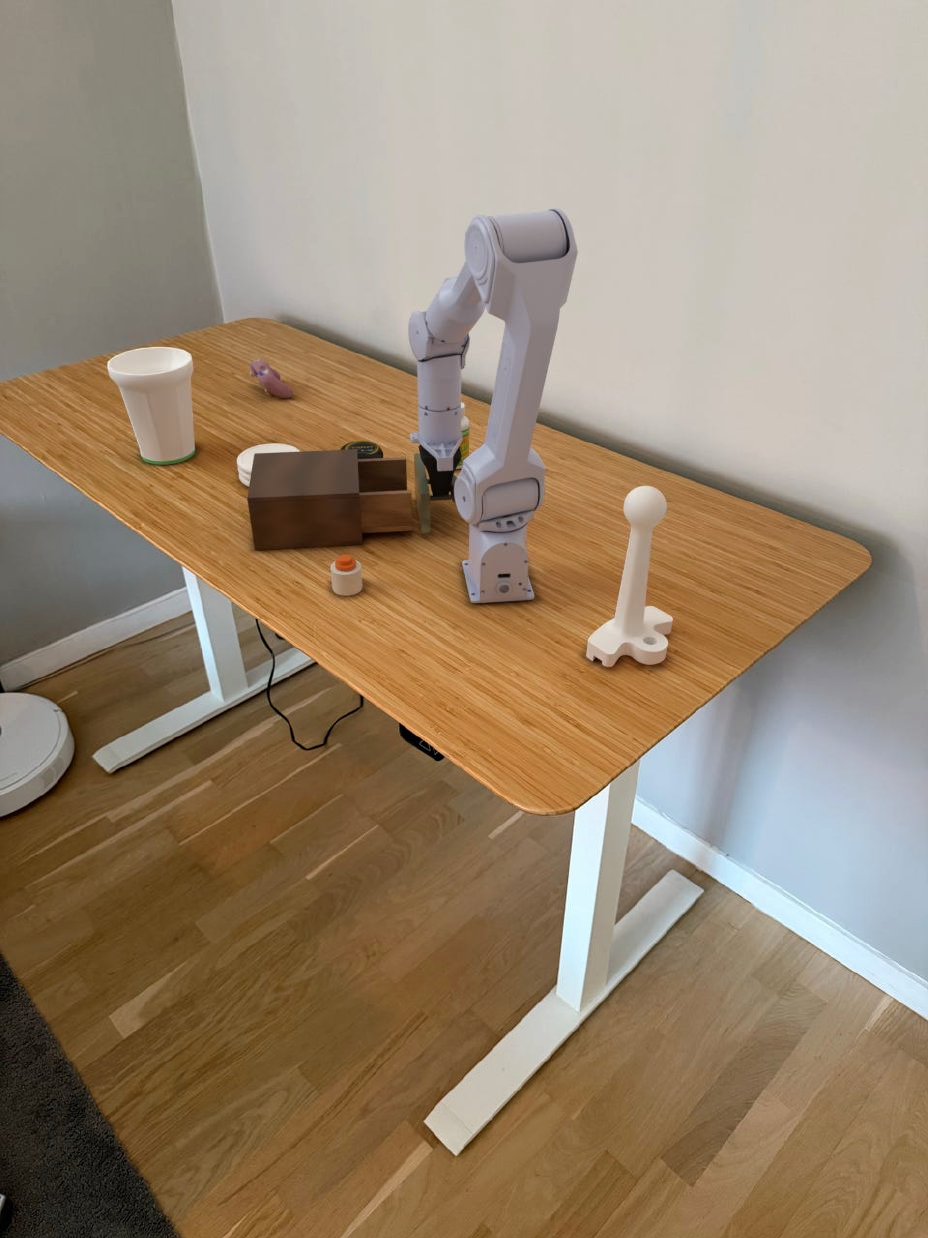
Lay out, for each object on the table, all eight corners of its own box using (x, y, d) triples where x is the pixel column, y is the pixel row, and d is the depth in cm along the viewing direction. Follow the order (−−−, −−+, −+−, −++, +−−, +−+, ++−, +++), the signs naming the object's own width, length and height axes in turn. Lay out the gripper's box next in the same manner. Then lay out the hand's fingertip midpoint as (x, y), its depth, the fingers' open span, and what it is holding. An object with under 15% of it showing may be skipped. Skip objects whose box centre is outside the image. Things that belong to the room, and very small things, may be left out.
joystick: (642, 616, 108) (666, 465, 96) (692, 646, 103) (723, 491, 91) (578, 651, 102) (594, 495, 90) (627, 684, 97) (651, 524, 86)
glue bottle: (363, 595, 111) (361, 565, 108) (332, 596, 111) (329, 566, 108) (362, 578, 114) (360, 549, 111) (332, 580, 114) (329, 550, 111)
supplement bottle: (465, 472, 139) (465, 413, 133) (431, 468, 140) (430, 410, 134) (471, 457, 143) (472, 399, 137) (439, 454, 144) (438, 396, 138)
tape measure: (338, 480, 136) (336, 458, 134) (342, 461, 142) (340, 439, 139) (383, 480, 136) (382, 458, 134) (385, 460, 142) (384, 439, 140)
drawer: (454, 490, 132) (454, 451, 128) (464, 531, 122) (464, 491, 119) (331, 496, 130) (328, 457, 127) (331, 538, 120) (327, 497, 117)
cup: (111, 464, 140) (88, 369, 131) (156, 433, 149) (138, 342, 141) (181, 475, 137) (163, 379, 128) (222, 443, 147) (207, 351, 138)
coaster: (227, 474, 137) (224, 453, 135) (283, 456, 143) (281, 436, 141) (260, 498, 131) (257, 476, 129) (317, 479, 136) (315, 458, 134)
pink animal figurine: (261, 391, 169) (240, 361, 164) (281, 377, 169) (261, 347, 165) (275, 409, 162) (254, 379, 157) (296, 395, 162) (275, 364, 157)
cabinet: (360, 498, 132) (356, 448, 127) (362, 544, 121) (359, 492, 116) (261, 502, 130) (254, 453, 125) (254, 550, 119) (247, 497, 115)
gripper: (405, 384, 123) (408, 473, 131) (413, 426, 111) (416, 521, 119) (456, 382, 124) (456, 471, 131) (469, 424, 112) (468, 519, 120)
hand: (440, 495), depth 125 cm, fingers closed, pressing on drawer
